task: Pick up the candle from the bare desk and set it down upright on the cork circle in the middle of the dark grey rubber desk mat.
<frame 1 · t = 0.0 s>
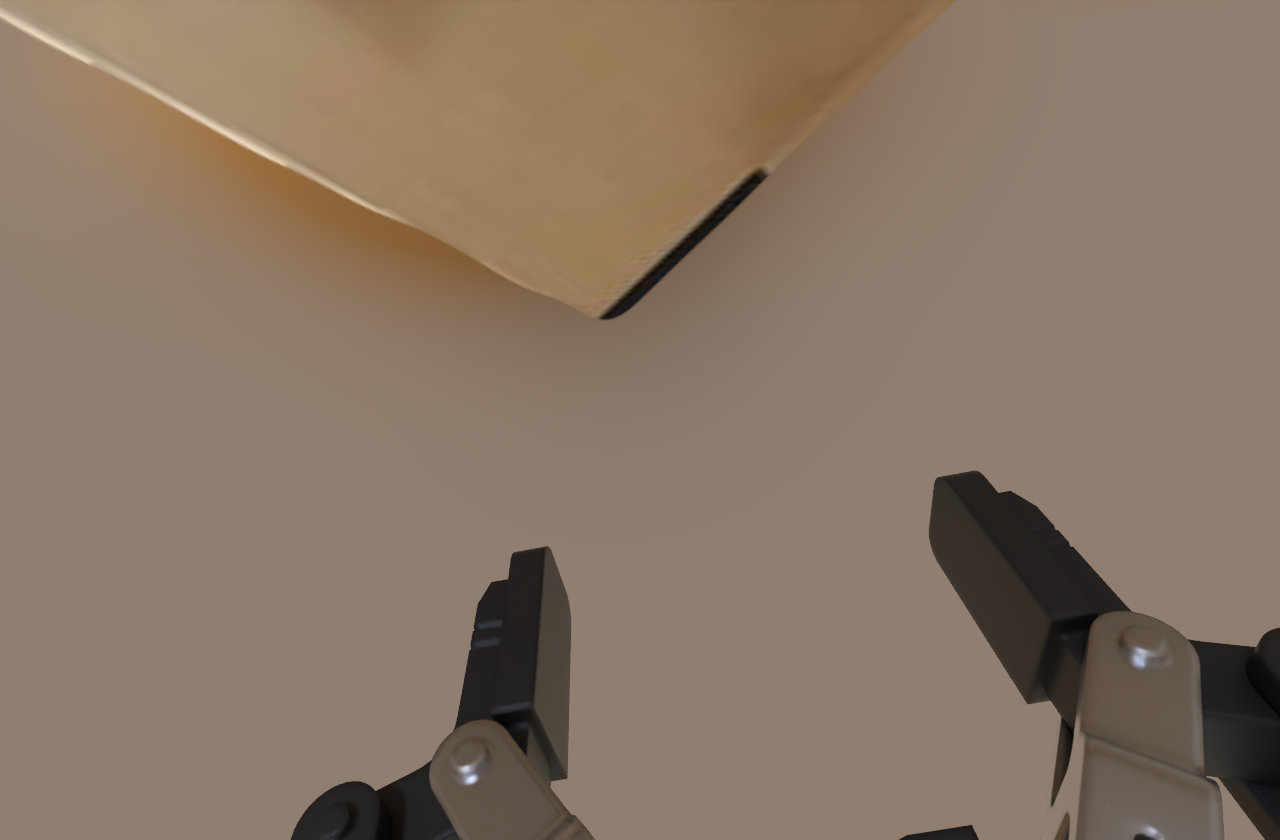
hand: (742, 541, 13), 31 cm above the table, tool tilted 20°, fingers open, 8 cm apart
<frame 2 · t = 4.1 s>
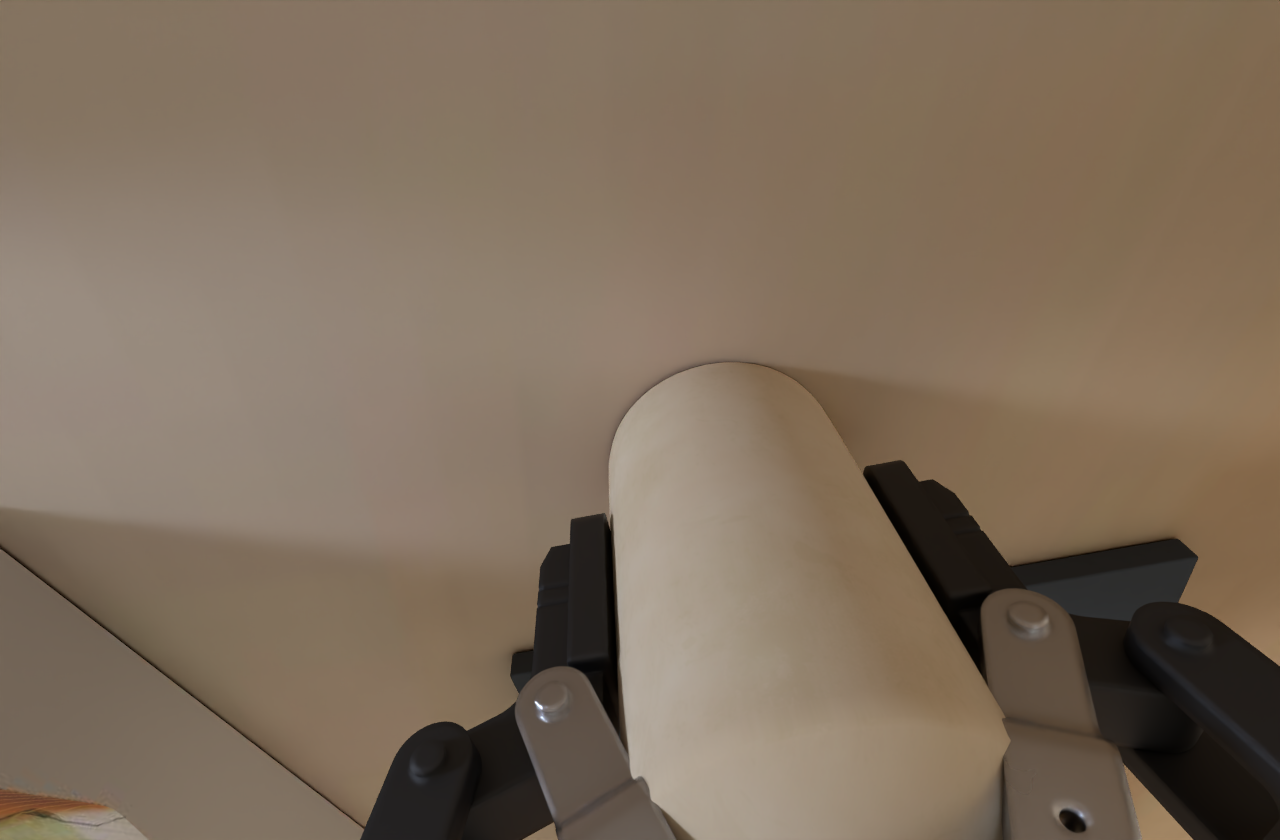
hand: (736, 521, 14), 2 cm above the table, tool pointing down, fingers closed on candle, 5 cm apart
candle: (717, 452, 16), on the table, touching gripper
mat: (838, 767, 24), on the table
topographic model: (152, 834, 24), on the table
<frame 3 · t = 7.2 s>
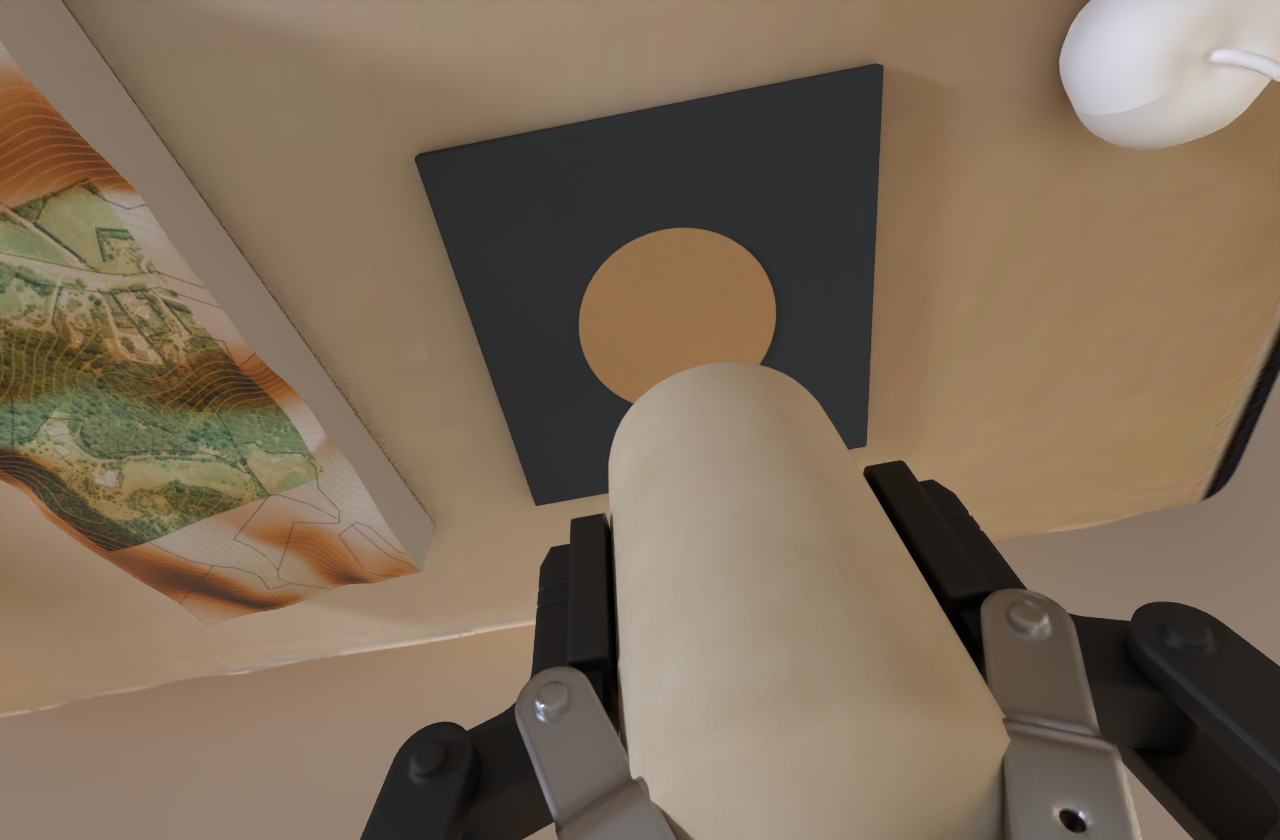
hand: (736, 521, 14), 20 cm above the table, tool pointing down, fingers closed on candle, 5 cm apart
candle: (717, 452, 16), point 17 cm above the table, touching gripper
mat: (675, 319, 33), on the table
plain white apple: (1104, 43, 27), on the table
topographic model: (159, 359, 32), on the table
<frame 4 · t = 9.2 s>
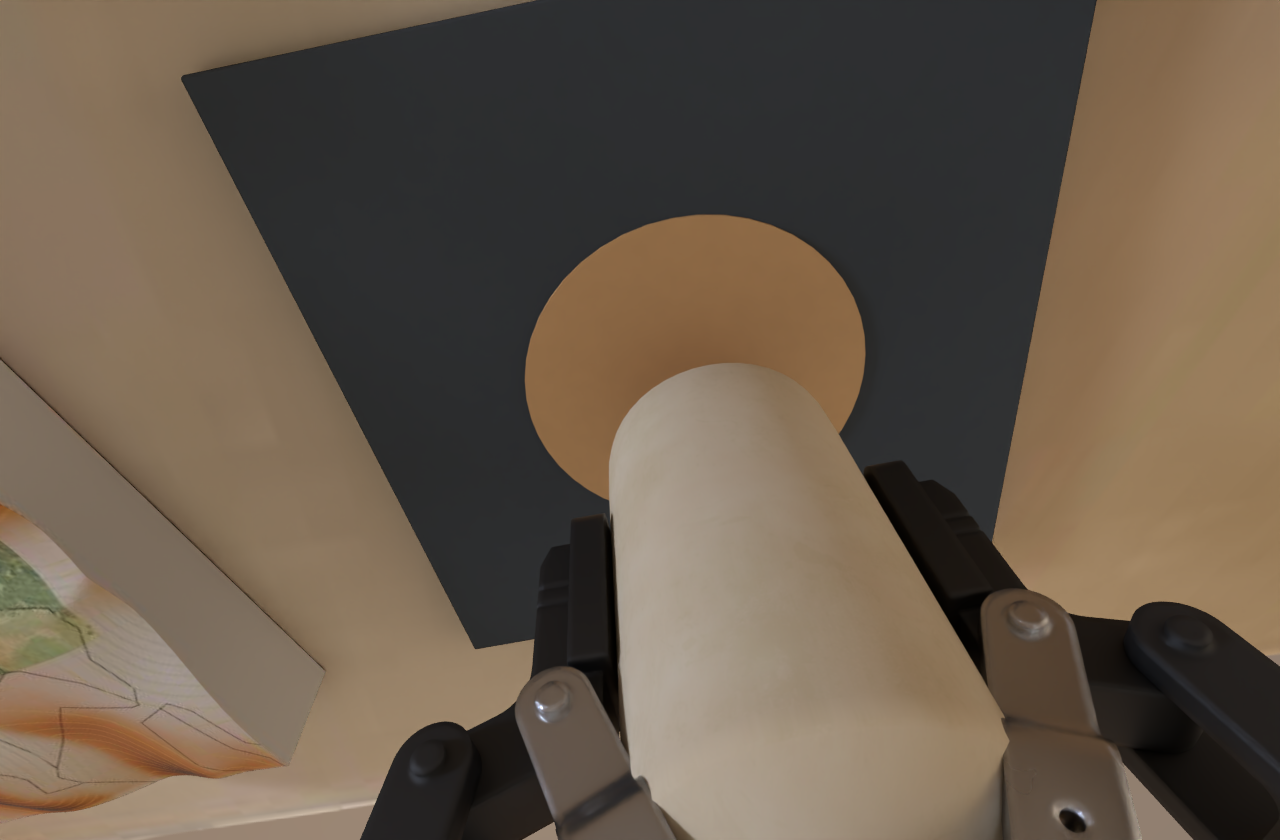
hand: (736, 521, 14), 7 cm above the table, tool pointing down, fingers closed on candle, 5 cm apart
candle: (717, 452, 16), point 4 cm above the table, touching gripper
mat: (692, 372, 19), on the table
when the fingers open (3 cm above the table, at t = 10.7 s): candle stays where it is, resting on mat.
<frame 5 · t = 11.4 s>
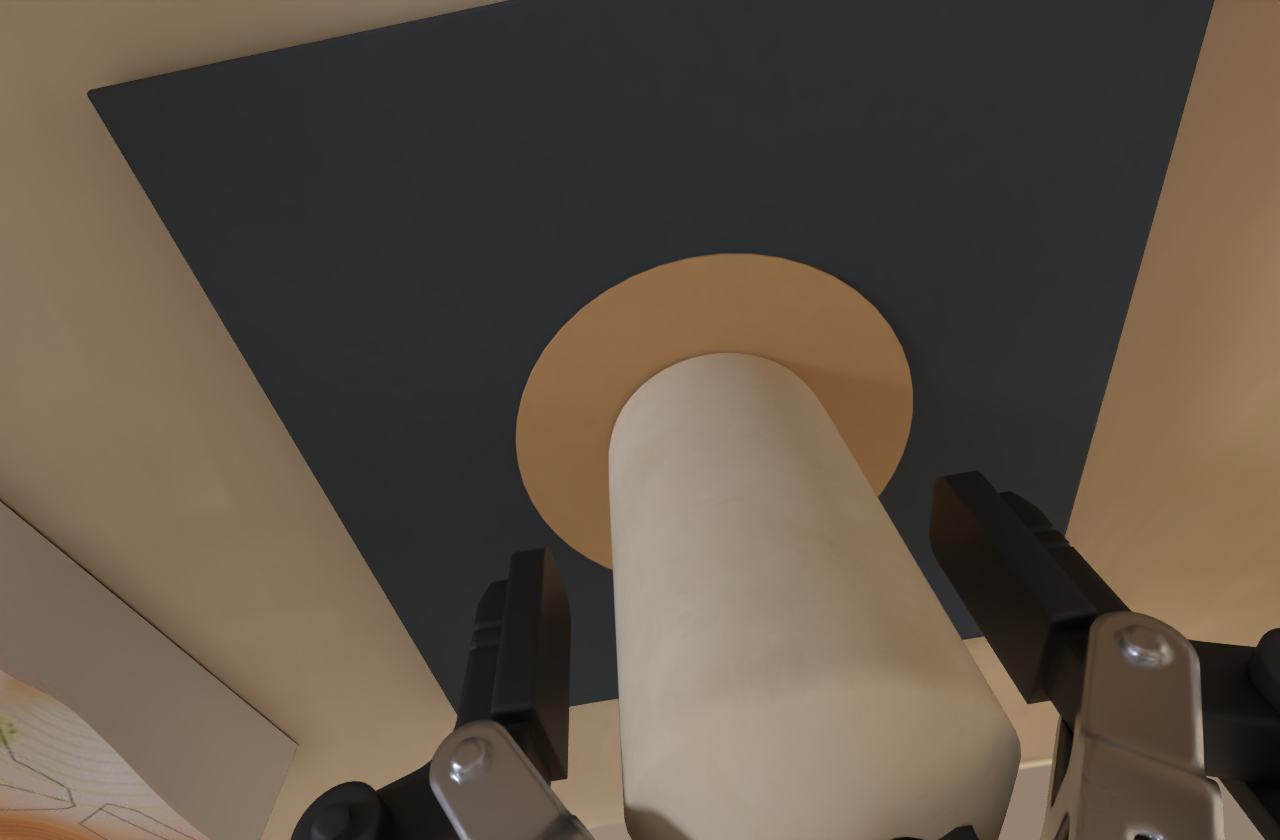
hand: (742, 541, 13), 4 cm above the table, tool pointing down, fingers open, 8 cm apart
candle: (715, 441, 16), point 1 cm above the table, touching mat
mat: (710, 428, 17), on the table
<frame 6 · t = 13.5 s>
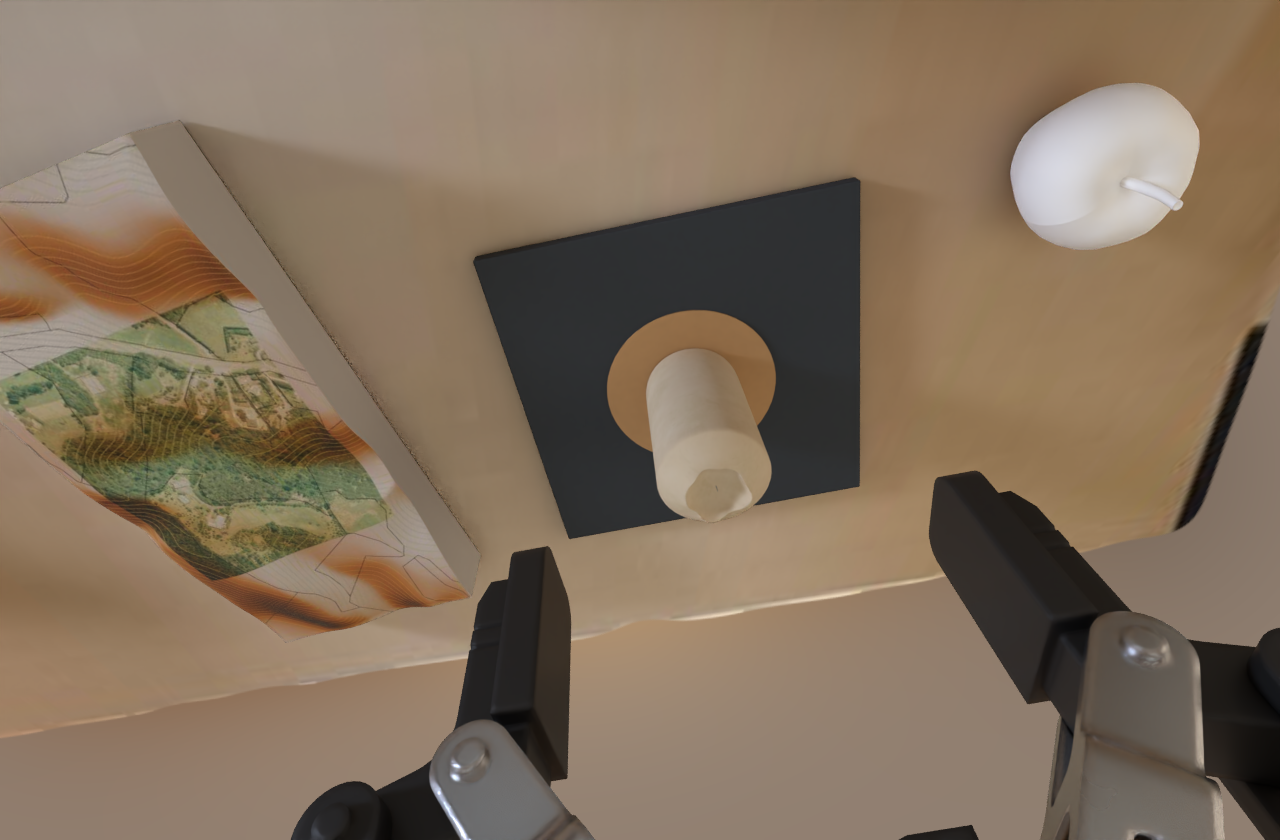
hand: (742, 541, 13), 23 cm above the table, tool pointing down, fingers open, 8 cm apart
candle: (691, 387, 37), point 1 cm above the table, touching mat
mat: (689, 382, 38), on the table
plain white apple: (1049, 155, 32), on the table
topographic model: (257, 420, 38), on the table
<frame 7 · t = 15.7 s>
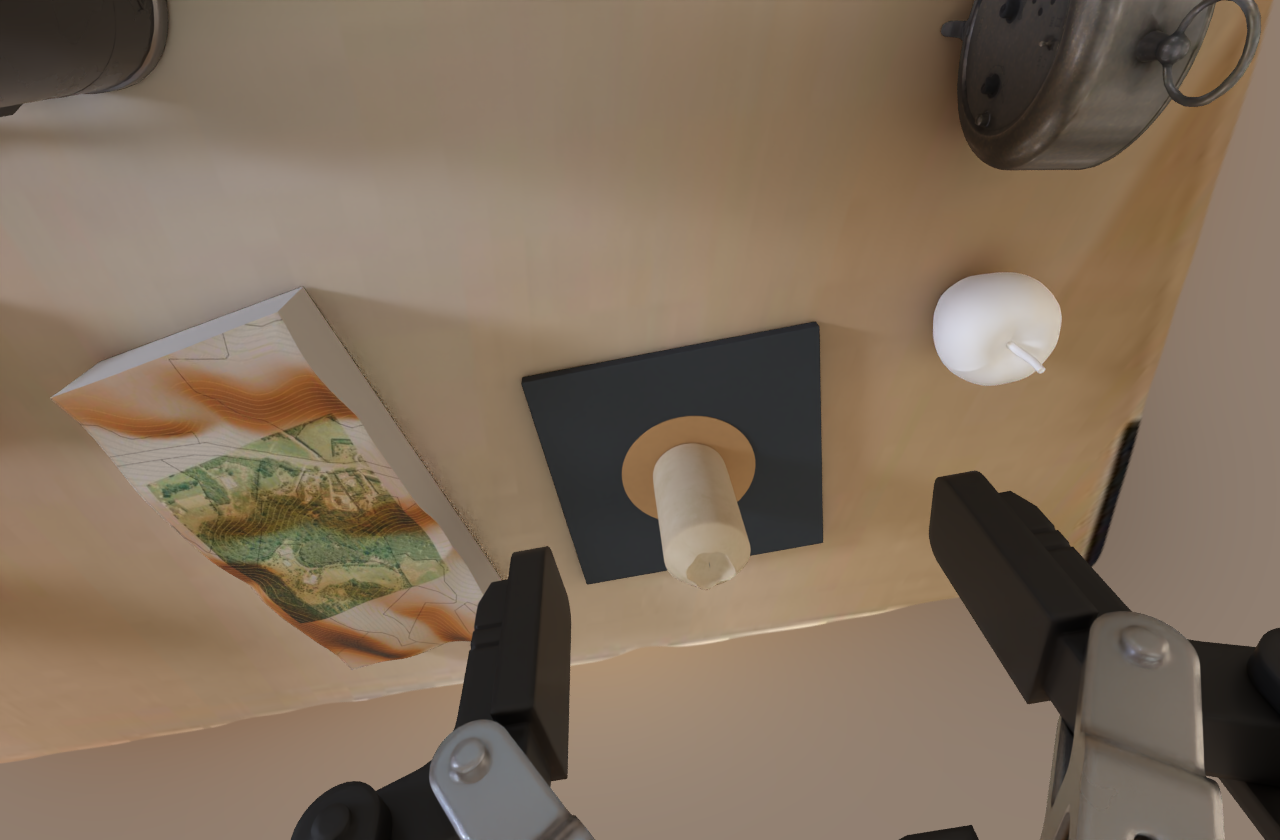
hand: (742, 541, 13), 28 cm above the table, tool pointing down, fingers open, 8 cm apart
candle: (688, 470, 47), point 1 cm above the table, touching mat
mat: (687, 465, 48), on the table
plain white apple: (963, 305, 42), on the table
alarm clock: (978, 31, 33), on the table
topographic model: (339, 495, 47), on the table
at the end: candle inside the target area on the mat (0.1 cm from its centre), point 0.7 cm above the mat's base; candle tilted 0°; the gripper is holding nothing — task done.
